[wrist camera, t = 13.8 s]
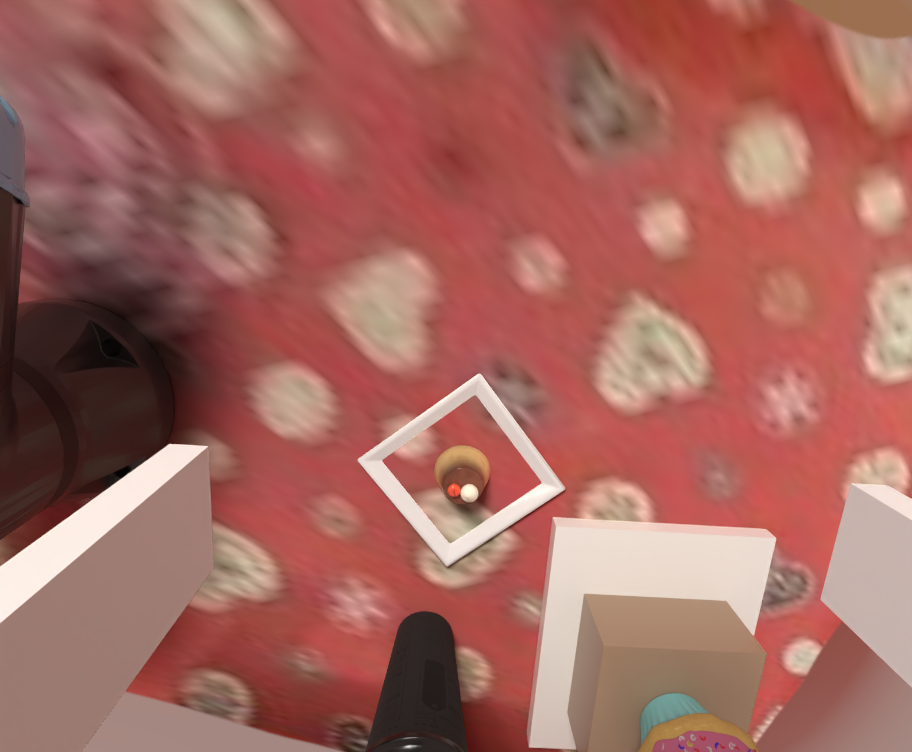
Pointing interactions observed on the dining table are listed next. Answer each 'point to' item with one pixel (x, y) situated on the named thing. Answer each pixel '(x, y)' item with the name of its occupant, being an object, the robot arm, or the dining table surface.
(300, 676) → the dining table surface
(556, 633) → the plinth
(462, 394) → the white square frame
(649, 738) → the cupcake
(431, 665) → the drinking cup
